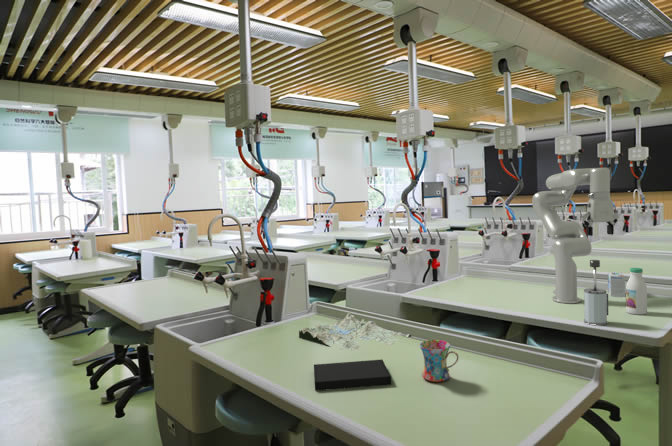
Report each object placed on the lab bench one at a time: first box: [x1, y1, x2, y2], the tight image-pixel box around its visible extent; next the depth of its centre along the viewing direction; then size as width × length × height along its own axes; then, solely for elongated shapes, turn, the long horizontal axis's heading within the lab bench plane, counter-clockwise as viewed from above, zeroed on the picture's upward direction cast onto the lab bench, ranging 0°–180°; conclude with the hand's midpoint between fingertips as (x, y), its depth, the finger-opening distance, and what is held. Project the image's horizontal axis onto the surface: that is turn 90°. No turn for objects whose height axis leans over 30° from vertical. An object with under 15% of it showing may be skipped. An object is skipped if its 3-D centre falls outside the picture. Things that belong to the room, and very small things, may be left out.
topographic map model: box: [298, 312, 412, 351], centre depth 180 cm, size 36×29×5 cm
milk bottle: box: [625, 267, 648, 316], centre depth 194 cm, size 8×8×20 cm
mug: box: [419, 339, 460, 383], centre depth 135 cm, size 12×9×11 cm
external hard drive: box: [313, 359, 392, 392], centre depth 139 cm, size 14×23×3 cm, turn 94°
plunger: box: [589, 259, 601, 291], centre depth 182 cm, size 6×6×15 cm
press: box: [583, 287, 609, 326], centre depth 183 cm, size 8×9×14 cm
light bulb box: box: [607, 272, 626, 298], centre depth 228 cm, size 11×7×11 cm, turn 154°
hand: (599, 234), depth 193 cm, fingers open, 9 cm apart
